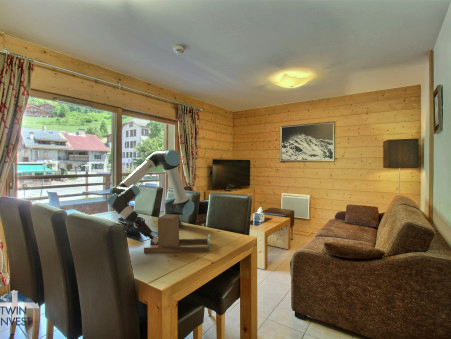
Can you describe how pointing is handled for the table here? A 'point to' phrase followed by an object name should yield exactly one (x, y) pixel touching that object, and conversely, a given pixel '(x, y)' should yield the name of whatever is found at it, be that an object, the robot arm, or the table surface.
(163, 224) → the wooden block
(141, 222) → the robot arm
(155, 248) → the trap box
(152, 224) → the table surface
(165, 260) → the table surface
